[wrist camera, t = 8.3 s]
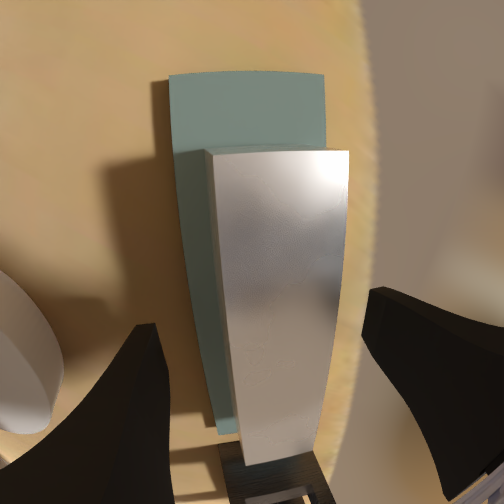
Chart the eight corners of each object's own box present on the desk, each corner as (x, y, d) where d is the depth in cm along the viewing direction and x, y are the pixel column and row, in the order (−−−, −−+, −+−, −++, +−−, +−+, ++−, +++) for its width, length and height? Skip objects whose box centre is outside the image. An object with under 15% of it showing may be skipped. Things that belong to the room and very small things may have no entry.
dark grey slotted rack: (292, 483, 20) (312, 536, 14) (233, 495, 19) (246, 551, 14) (302, 427, 16) (336, 504, 11) (218, 444, 15) (235, 529, 10)
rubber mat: (302, 410, 15) (305, 417, 14) (217, 426, 14) (218, 435, 14) (316, 77, 9) (324, 74, 8) (169, 79, 8) (169, 75, 7)
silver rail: (292, 404, 14) (312, 450, 11) (233, 415, 13) (245, 465, 10) (301, 143, 9) (349, 150, 6) (204, 148, 8) (212, 155, 6)
